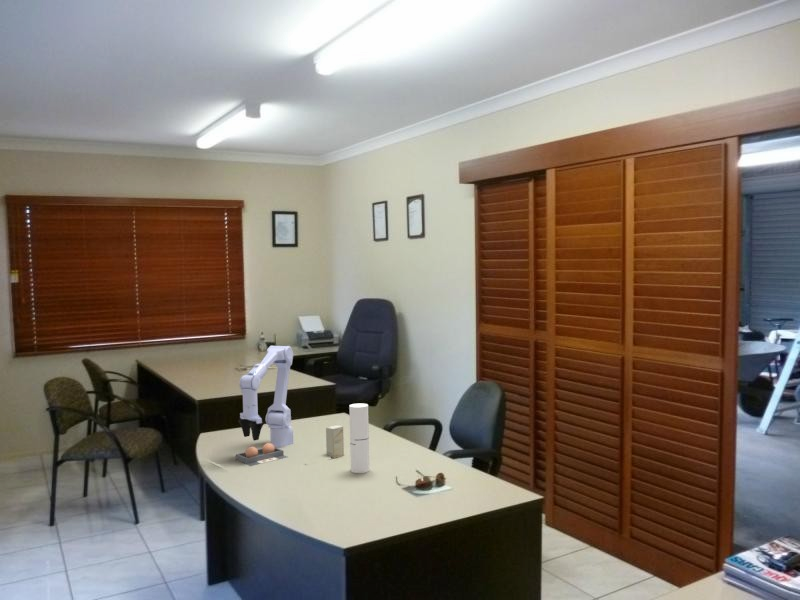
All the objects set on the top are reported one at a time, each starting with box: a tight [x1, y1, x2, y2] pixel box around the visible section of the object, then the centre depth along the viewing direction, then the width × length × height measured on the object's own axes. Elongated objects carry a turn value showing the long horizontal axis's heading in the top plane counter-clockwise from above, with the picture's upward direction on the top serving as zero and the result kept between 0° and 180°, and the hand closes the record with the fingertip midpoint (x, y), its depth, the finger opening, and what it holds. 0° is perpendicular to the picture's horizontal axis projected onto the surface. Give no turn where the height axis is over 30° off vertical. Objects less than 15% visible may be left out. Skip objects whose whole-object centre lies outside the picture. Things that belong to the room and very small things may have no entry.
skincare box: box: [325, 424, 345, 459], centre depth 262 cm, size 6×4×12 cm
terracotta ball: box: [244, 446, 258, 458], centre depth 257 cm, size 5×5×5 cm
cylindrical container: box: [348, 402, 370, 474], centre depth 243 cm, size 7×7×25 cm
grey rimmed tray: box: [235, 447, 288, 467], centre depth 258 cm, size 17×13×3 cm
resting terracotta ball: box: [261, 442, 275, 454], centre depth 262 cm, size 5×5×5 cm
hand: (251, 438), depth 257 cm, fingers open, 7 cm apart
